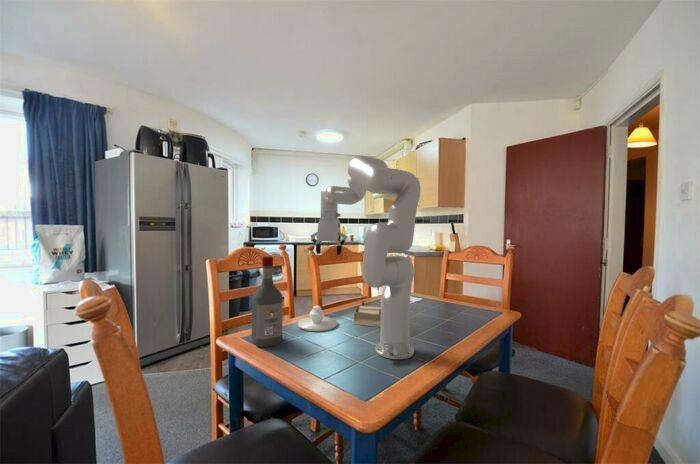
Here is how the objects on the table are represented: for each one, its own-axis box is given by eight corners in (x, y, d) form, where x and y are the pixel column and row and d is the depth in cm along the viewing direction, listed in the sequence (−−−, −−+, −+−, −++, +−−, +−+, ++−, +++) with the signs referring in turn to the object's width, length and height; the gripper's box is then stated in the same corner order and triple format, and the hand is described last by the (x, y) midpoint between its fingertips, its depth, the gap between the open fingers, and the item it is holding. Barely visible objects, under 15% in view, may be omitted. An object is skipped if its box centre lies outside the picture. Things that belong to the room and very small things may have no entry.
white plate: (328, 334, 113) (328, 330, 113) (290, 329, 118) (290, 326, 118) (341, 321, 129) (341, 318, 129) (307, 317, 133) (307, 314, 133)
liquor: (284, 343, 104) (285, 257, 103) (258, 349, 99) (258, 258, 98) (274, 335, 111) (275, 255, 111) (250, 340, 106) (250, 256, 105)
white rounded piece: (314, 319, 127) (314, 302, 127) (326, 321, 125) (327, 304, 124) (306, 323, 121) (306, 306, 121) (319, 325, 119) (319, 308, 119)
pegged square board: (382, 327, 122) (382, 310, 121) (354, 324, 125) (354, 307, 125) (387, 318, 133) (387, 303, 133) (361, 315, 137) (361, 300, 136)
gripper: (349, 216, 135) (349, 254, 135) (314, 216, 140) (314, 252, 140) (344, 216, 128) (344, 255, 128) (307, 215, 133) (307, 254, 133)
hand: (328, 254), depth 134 cm, fingers open, 9 cm apart
